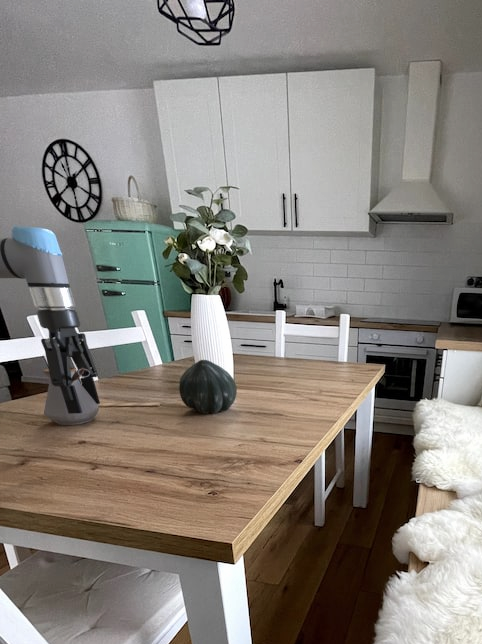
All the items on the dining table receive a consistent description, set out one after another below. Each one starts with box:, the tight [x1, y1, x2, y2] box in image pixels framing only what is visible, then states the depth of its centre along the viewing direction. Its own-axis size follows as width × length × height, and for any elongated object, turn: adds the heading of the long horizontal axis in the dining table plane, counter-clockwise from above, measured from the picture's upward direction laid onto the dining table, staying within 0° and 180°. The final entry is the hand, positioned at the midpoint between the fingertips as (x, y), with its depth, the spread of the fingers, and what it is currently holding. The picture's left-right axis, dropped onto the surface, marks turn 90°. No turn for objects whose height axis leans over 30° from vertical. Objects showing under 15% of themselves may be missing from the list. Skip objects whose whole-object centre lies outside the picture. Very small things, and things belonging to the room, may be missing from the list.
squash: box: [178, 359, 238, 415], centre depth 109 cm, size 14×15×15 cm
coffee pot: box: [42, 366, 100, 426], centre depth 94 cm, size 21×12×15 cm, turn 52°
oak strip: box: [97, 402, 162, 408], centre depth 114 cm, size 24×3×1 cm, turn 97°
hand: (85, 408), depth 98 cm, fingers closed on coffee pot, 8 cm apart
